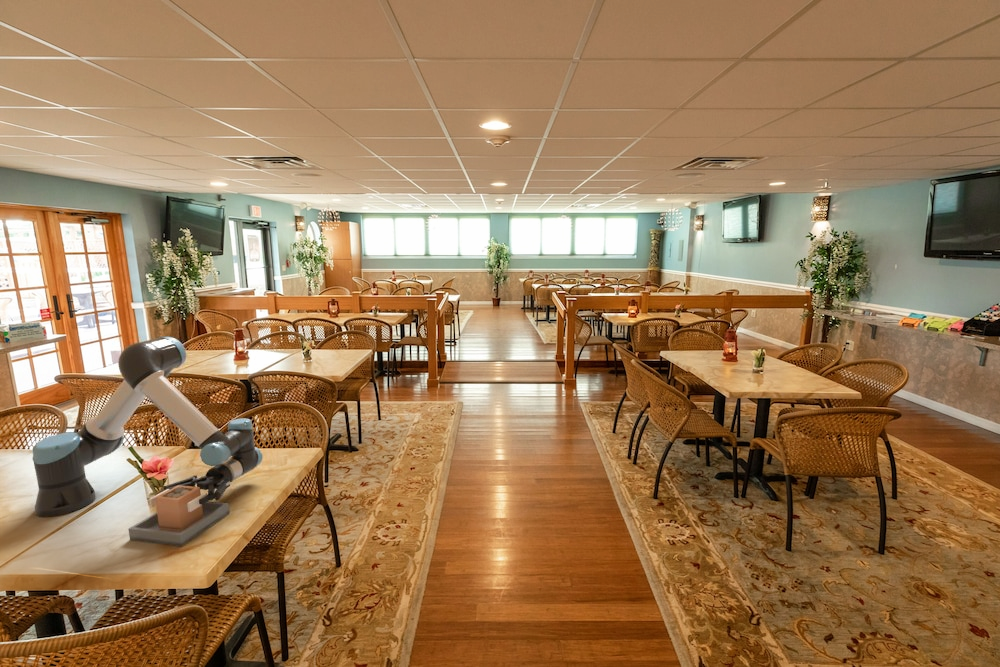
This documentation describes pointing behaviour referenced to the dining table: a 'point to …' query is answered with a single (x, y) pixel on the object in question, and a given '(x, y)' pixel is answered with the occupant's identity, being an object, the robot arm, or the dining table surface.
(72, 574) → the dining table surface
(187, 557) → the dining table surface
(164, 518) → the peach box
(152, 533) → the slate dish
